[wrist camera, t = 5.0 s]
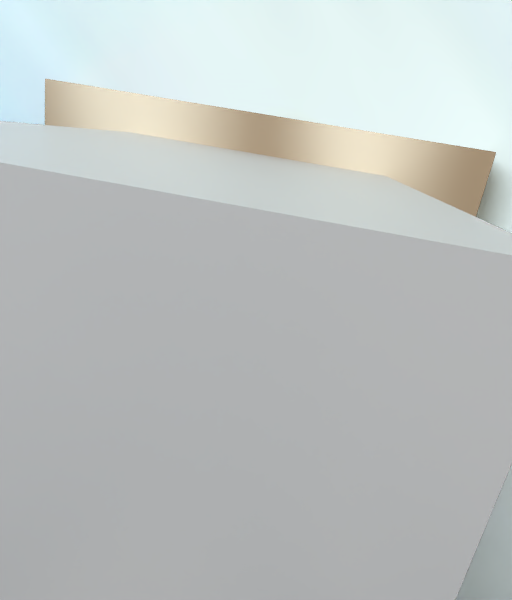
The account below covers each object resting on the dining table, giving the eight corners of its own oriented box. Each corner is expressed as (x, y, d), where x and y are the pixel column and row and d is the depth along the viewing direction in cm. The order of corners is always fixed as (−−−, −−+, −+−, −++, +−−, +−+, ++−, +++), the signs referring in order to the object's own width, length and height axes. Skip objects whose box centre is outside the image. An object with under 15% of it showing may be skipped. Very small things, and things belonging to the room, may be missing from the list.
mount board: (52, 702, 23) (41, 726, 22) (64, 83, 14) (45, 78, 13) (293, 772, 22) (291, 800, 21) (483, 152, 12) (496, 152, 12)
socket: (351, 316, 13) (409, 713, 4) (121, 271, 14) (-301, 520, 5) (385, 175, 12) (593, 270, 3) (130, 132, 13) (-436, 82, 3)
